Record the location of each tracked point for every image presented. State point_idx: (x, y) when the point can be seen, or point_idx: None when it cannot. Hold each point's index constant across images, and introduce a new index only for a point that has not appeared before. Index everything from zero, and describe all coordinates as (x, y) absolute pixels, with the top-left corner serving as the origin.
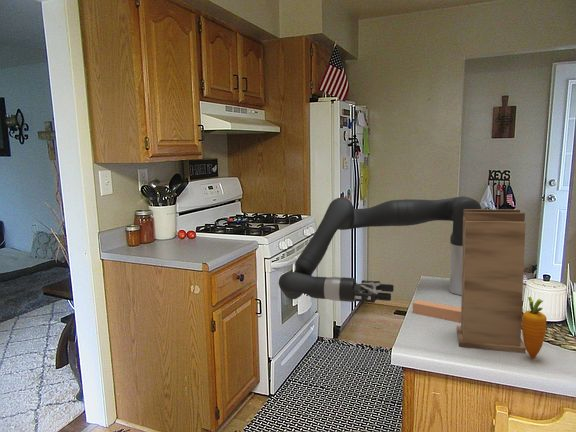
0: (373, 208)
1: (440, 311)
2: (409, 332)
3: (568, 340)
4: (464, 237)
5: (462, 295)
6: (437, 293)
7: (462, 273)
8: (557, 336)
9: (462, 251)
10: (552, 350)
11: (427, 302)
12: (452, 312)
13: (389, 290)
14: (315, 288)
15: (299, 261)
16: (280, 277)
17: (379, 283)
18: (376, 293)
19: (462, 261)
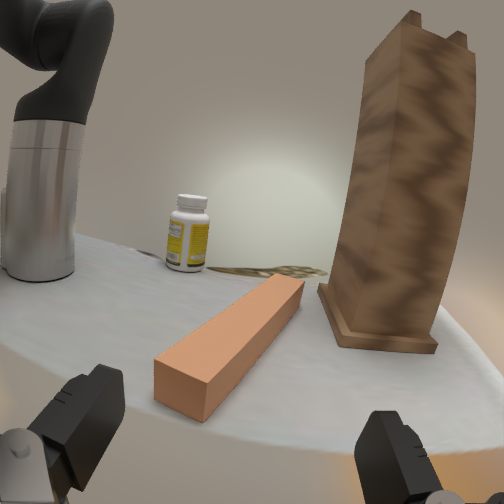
0: None
1: (262, 337)
2: (434, 437)
3: (311, 268)
4: (453, 79)
5: (409, 233)
6: (15, 300)
7: (405, 169)
8: (301, 269)
9: (396, 105)
10: None
11: (198, 339)
12: (276, 317)
13: (111, 428)
14: None
15: None
16: None
17: (27, 449)
18: (456, 498)
19: (401, 134)
